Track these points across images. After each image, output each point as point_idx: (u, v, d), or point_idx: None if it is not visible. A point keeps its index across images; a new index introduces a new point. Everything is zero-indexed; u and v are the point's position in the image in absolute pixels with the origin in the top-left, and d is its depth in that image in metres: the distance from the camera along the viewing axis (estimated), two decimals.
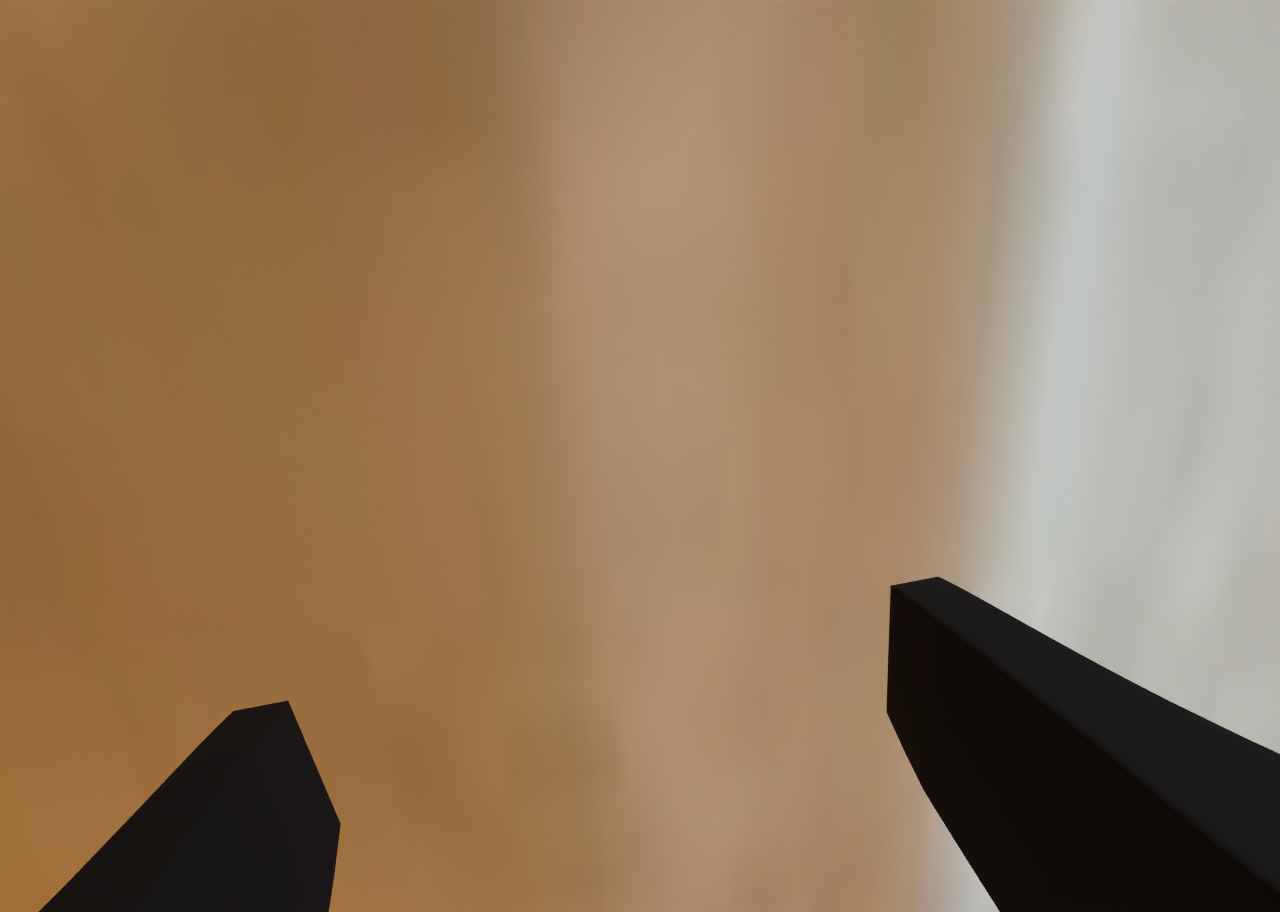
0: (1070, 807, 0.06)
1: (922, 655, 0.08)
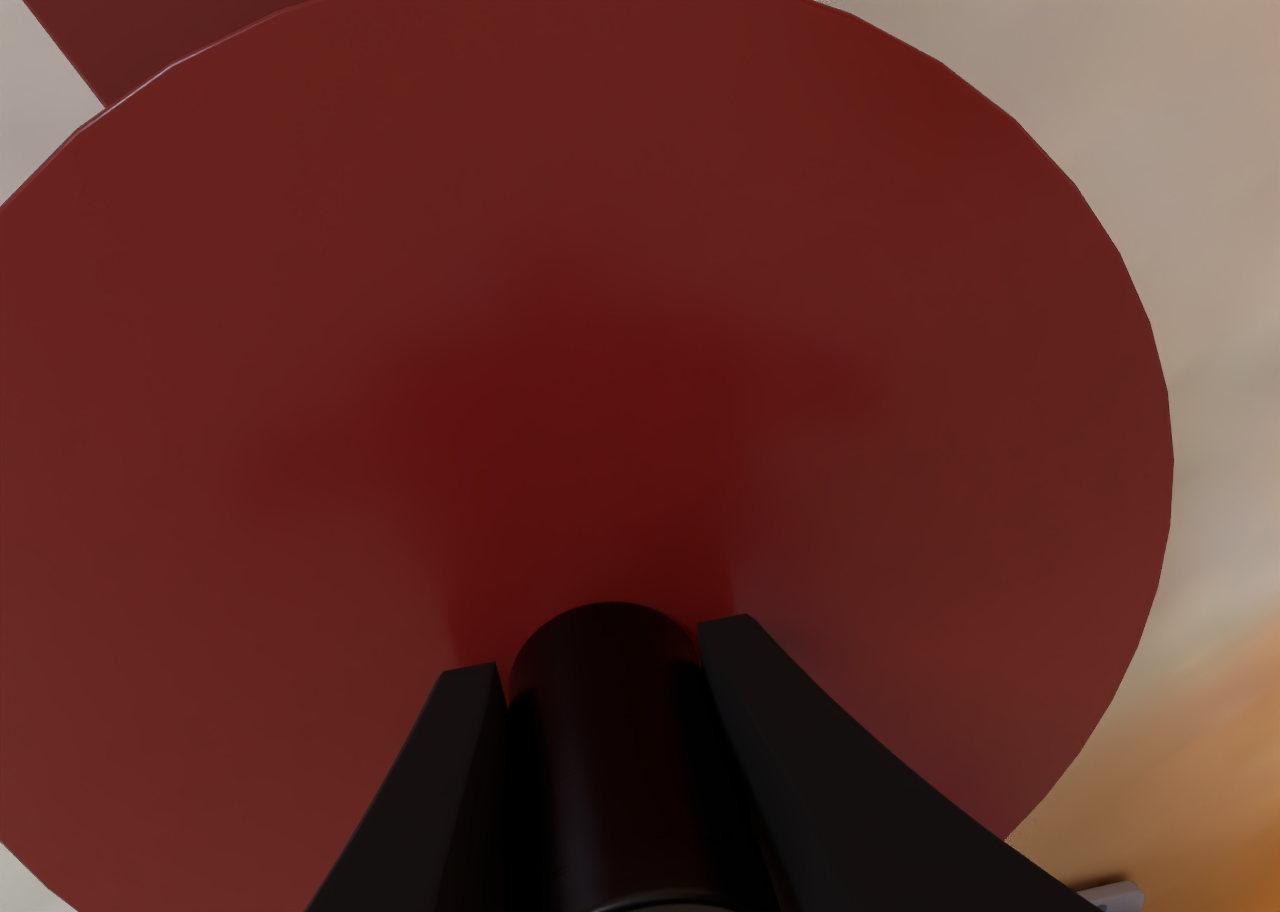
0: (799, 867, 0.06)
1: (716, 696, 0.08)
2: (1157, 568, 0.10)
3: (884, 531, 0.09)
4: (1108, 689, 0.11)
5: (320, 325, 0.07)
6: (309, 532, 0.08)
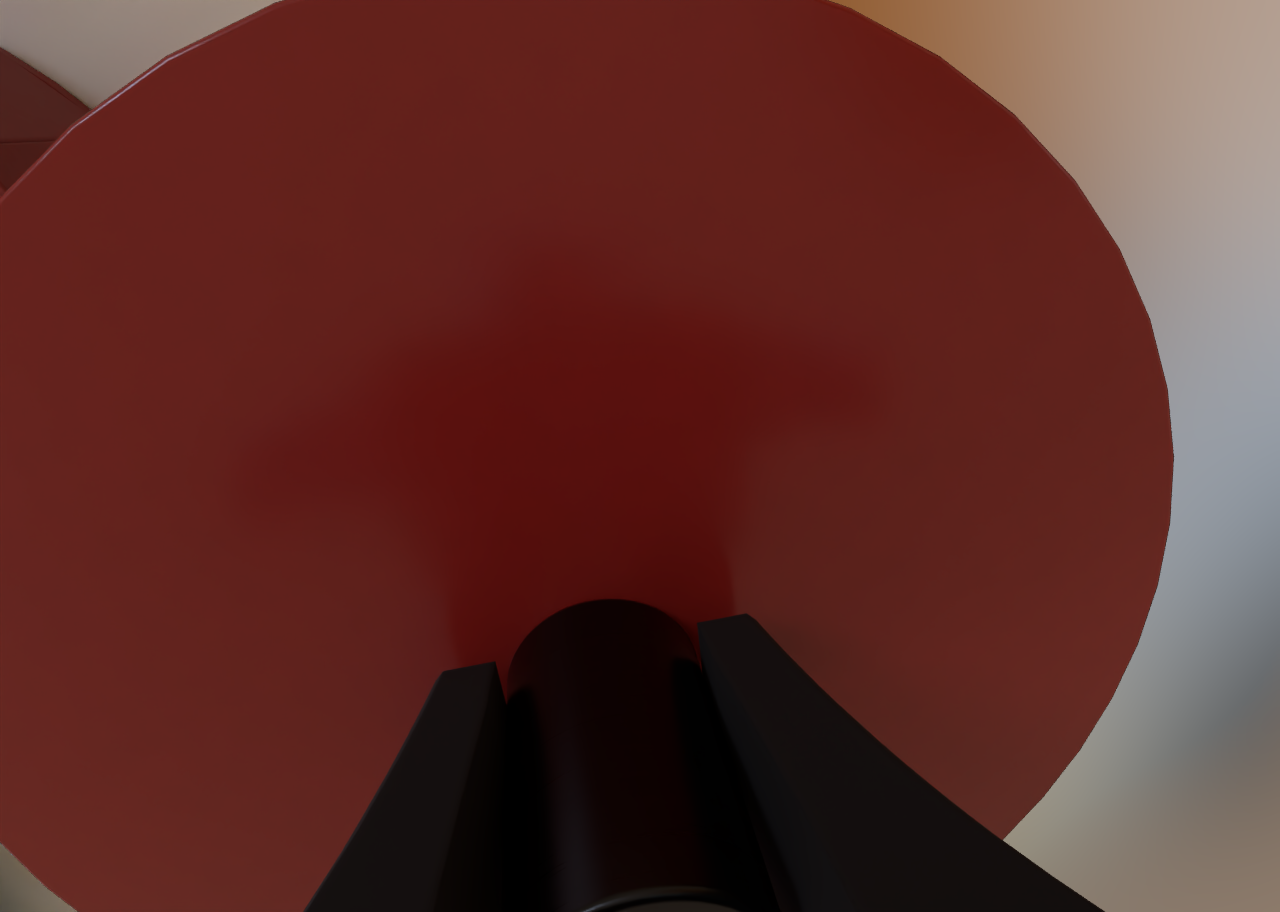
0: (799, 867, 0.06)
1: (716, 697, 0.08)
2: (1157, 566, 0.10)
3: (883, 528, 0.09)
4: (1108, 688, 0.11)
5: (317, 321, 0.07)
6: (306, 528, 0.08)
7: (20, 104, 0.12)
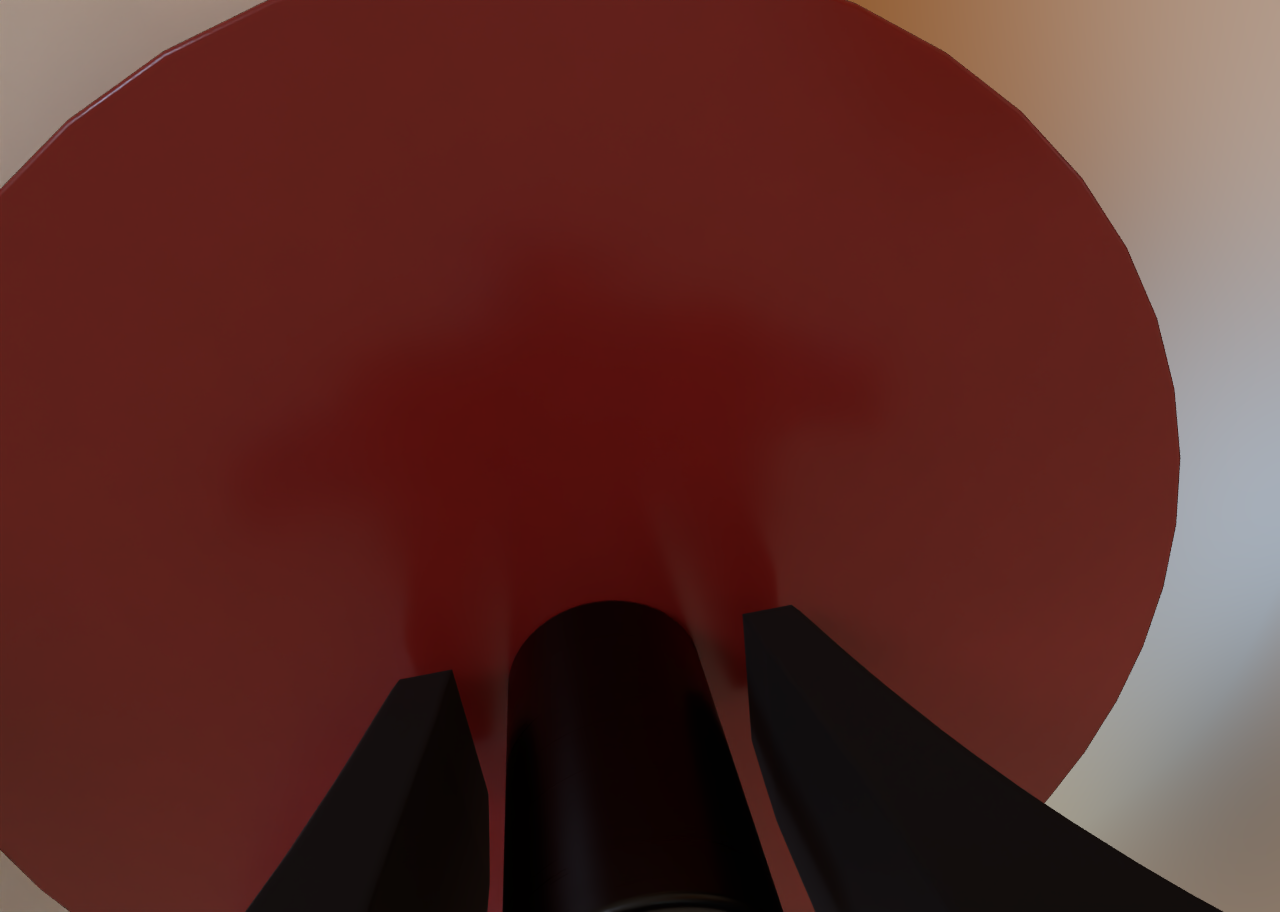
0: (863, 853, 0.06)
1: (764, 687, 0.08)
2: (1163, 567, 0.10)
3: (888, 529, 0.09)
4: (1113, 690, 0.11)
5: (316, 320, 0.07)
6: (305, 529, 0.08)
7: None
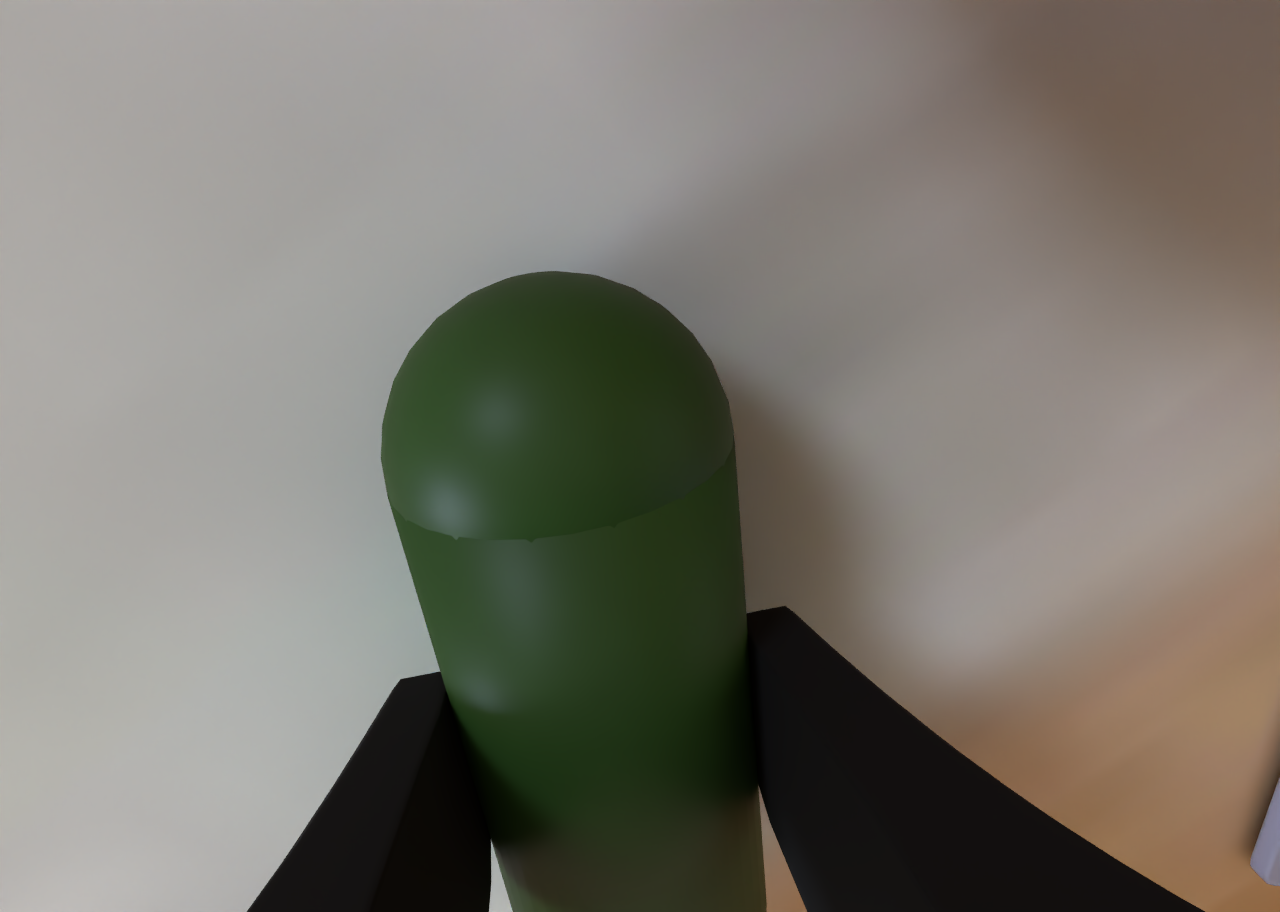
0: (854, 855, 0.06)
1: (757, 688, 0.08)
2: None
3: None
4: None
5: None
6: None
7: None
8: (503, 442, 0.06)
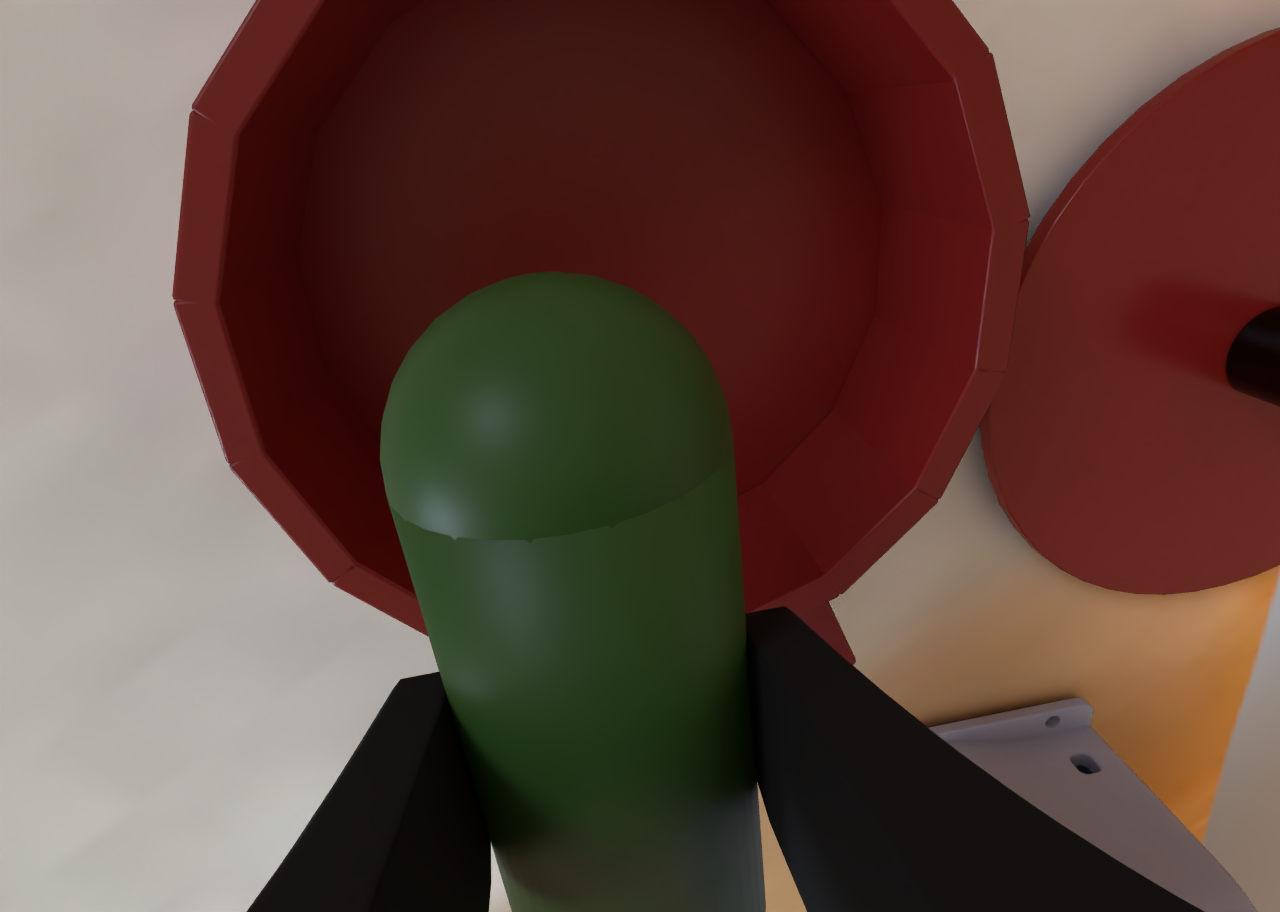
0: (854, 855, 0.06)
1: (757, 688, 0.08)
2: None
3: None
4: None
5: (1238, 159, 0.17)
6: (1188, 258, 0.18)
7: None
8: (502, 442, 0.06)
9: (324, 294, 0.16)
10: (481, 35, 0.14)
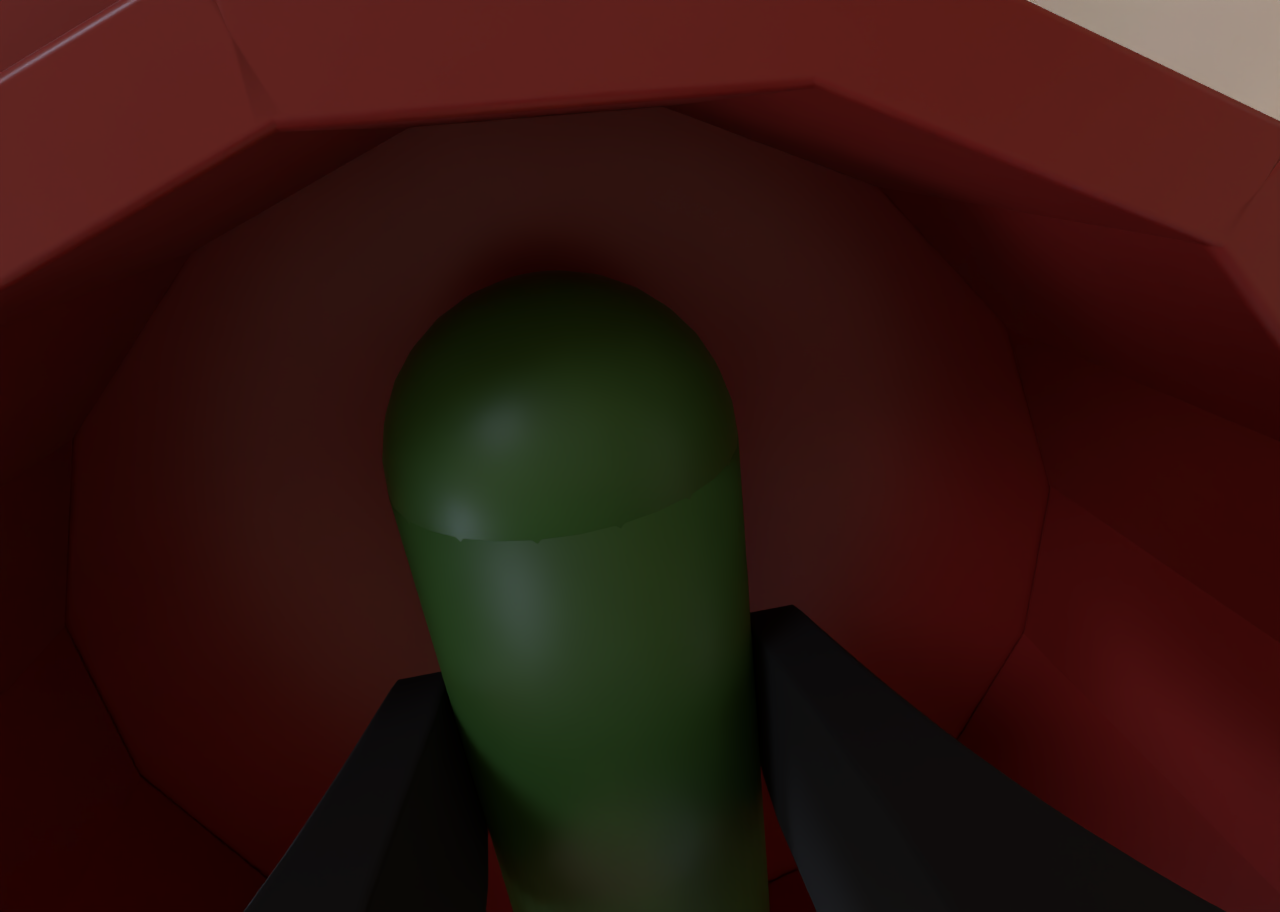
0: (865, 853, 0.06)
1: (766, 686, 0.08)
2: None
3: None
4: None
5: None
6: None
7: None
8: (508, 442, 0.06)
9: (122, 669, 0.09)
10: (365, 265, 0.08)
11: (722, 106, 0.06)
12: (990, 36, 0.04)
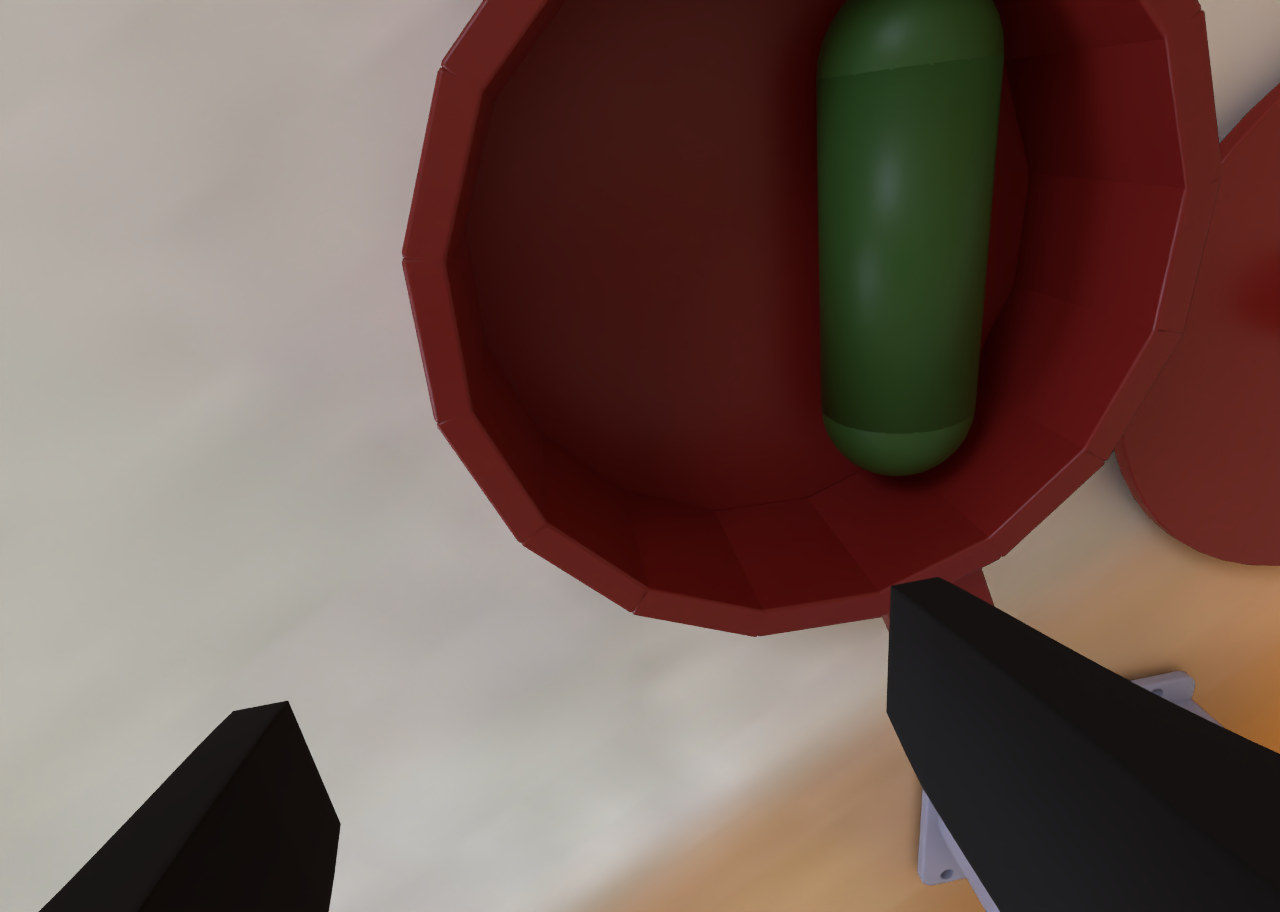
0: (1070, 807, 0.06)
1: (922, 655, 0.08)
2: None
3: None
4: None
5: None
6: None
7: None
8: None
9: (488, 263, 0.16)
10: (659, 2, 0.15)
11: None
12: None
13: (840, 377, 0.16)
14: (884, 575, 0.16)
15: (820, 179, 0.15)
